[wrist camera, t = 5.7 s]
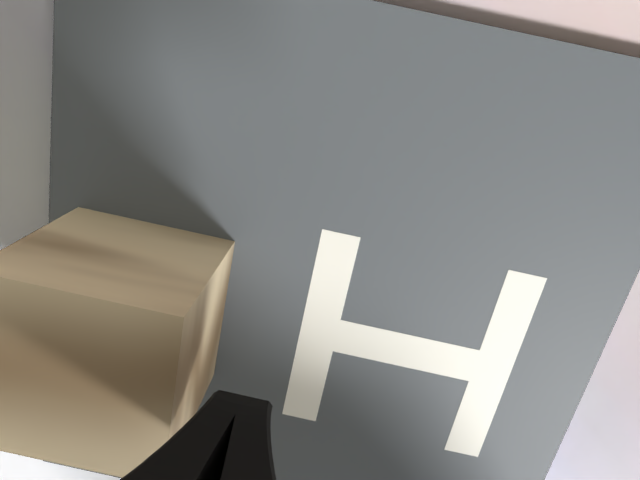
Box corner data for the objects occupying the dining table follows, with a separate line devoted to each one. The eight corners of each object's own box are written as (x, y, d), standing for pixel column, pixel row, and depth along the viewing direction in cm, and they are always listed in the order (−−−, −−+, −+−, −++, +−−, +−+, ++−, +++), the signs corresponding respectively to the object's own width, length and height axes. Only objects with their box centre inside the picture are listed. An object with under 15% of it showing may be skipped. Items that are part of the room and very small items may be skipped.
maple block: (214, 374, 18) (162, 486, 14) (72, 343, 18) (-28, 444, 14) (234, 241, 17) (184, 317, 12) (78, 207, 17) (-34, 269, 12)
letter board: (503, 551, 21) (506, 563, 20) (50, 451, 21) (43, 461, 20) (715, 76, 14) (726, 77, 14) (66, -65, 14) (56, -69, 14)
